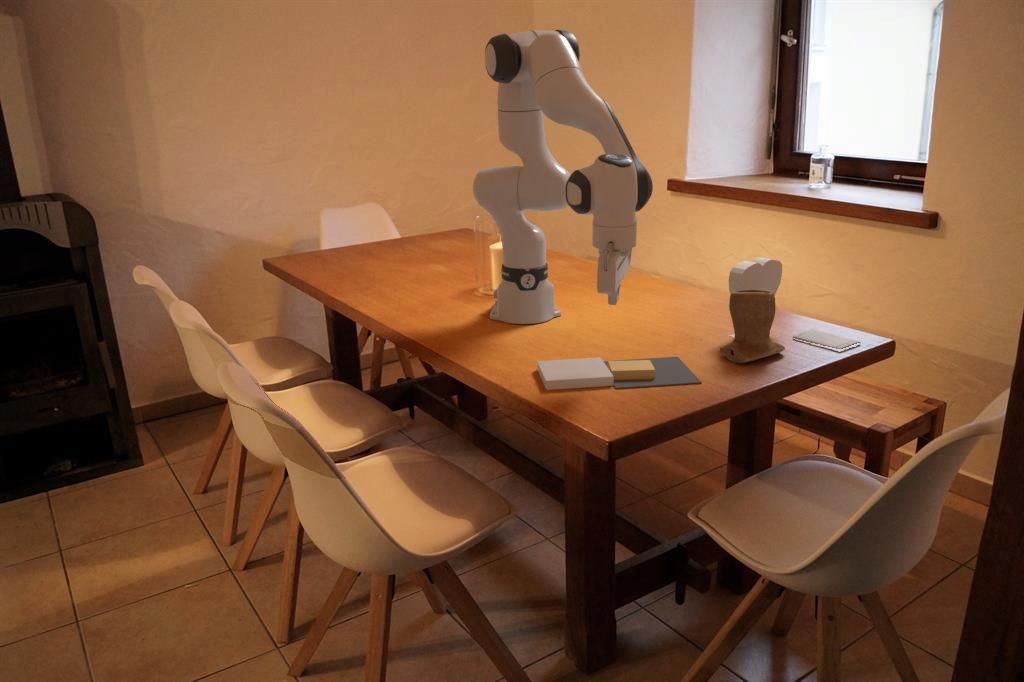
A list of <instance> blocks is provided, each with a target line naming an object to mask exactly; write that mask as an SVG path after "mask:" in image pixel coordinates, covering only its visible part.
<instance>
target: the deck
mask: <svg viewBox="0 0 1024 682" xmlns="http://www.w3.org/2000/svg"><path fill="white" fill-rule="evenodd" d="M604 361H605V360H603V359H602V357H601V356H600V357H599V356H598V357H586V358H582V357H581V358H568V359H567V358H566V359H552V360H537V361H536V362H537V363H536V367H537V368H536V370H537V371H538V375H539V377H540V380H541V381H542V384H543V386H544V388H545V390H546V391H550V390H551V391H552V390H566V389H567V390H568V389H582V388H598V387H600V388H601V387H614V376H613V375H612V373H611V372H610V370H609V369H608V367H607V366H606V364H605V363H604Z"/></svg>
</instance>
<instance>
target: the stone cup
mask: <svg viewBox="0 0 1024 682" xmlns="http://www.w3.org/2000/svg"><path fill="white" fill-rule="evenodd" d="M775 296H776V294H775V295H774V293H773V292H772V291H770V290H760V289H744V290H736V291H733V292H732V293H731V294H730V295H729V304H728V309H729V313H730V317H731V321H732V325H733V326H732V328H733V332H734V333H733V334H735V337H734V339H733V340H732V342H730V343H728V344H727V345H724V346H721V347H720V348H719V352H720V353H721V354H722V355H723V356H724V357H725V358H726V359H727V360H729V361H730V362H733V363H736V364H743V363H747V362H753V361H756V360H760V359H763V358H766V357H770V356H773V355H776V354H779V353H781V352H783V351H785V349H786V347H785V346H784V345H782V344H779V343H777V342H775V341H773V340H771V337H770V335H771V332H770V330H771V329H772V325H773V323H774V320H775V315H776V297H775Z"/></svg>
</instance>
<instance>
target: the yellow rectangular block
mask: <svg viewBox="0 0 1024 682" xmlns="http://www.w3.org/2000/svg"><path fill="white" fill-rule="evenodd" d="M607 361H608V369H609V370H610V372H611V373H612V375H613V376H614V380H628V379H655V368H654V366H653V365H652V363H651V361H650V360H633V361H615V360H607Z"/></svg>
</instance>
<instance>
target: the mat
mask: <svg viewBox="0 0 1024 682" xmlns="http://www.w3.org/2000/svg"><path fill="white" fill-rule="evenodd" d="M633 360H650V361H651V363H652V365H653V366H654V368H655V379H628V380H614V386H613V388H614V389H615V390H625V389H626V390H627V389H635V388H636V389H639V388H650V387H651V388H652V387H653V388H654V387H655V388H656V387H668V386H669V387H670V386H681V385H684V386H685V385H697V384H698V385H699V384H702V383H703V382H702V381H701V380H700V379H699V378H698V377H697V375H696V374H695V373H694V372H692V370H691V369H690V368H689V367H688V366H687V365H686V363H684V362H683V361H682V360H681V359H680V357H679V356H667V357H666V356H665V357H664V356H663V357H651V358H648V357H647V358H636V359H635V358H634V359H633V358H632V359H619V360H614V361H633ZM603 361H604V363H605V364H606V366H607V367H608V361H609V360H603Z"/></svg>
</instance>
